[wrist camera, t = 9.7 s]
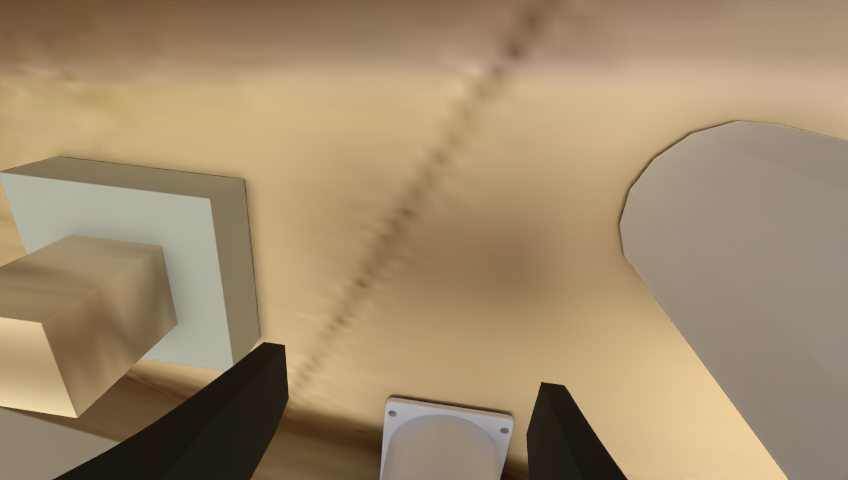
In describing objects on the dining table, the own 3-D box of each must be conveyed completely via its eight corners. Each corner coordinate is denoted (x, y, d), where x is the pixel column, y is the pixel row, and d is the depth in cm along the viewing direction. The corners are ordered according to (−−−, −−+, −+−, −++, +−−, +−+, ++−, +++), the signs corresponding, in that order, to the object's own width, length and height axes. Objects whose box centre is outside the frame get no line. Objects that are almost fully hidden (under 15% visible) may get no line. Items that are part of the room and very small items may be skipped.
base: (259, 337, 25) (234, 372, 22) (104, 315, 26) (60, 346, 23) (244, 179, 21) (209, 198, 18) (57, 156, 21) (-4, 171, 19)
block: (177, 324, 21) (77, 417, 16) (95, 312, 21) (-32, 400, 16) (161, 246, 19) (40, 323, 14) (71, 234, 20) (-82, 305, 14)
